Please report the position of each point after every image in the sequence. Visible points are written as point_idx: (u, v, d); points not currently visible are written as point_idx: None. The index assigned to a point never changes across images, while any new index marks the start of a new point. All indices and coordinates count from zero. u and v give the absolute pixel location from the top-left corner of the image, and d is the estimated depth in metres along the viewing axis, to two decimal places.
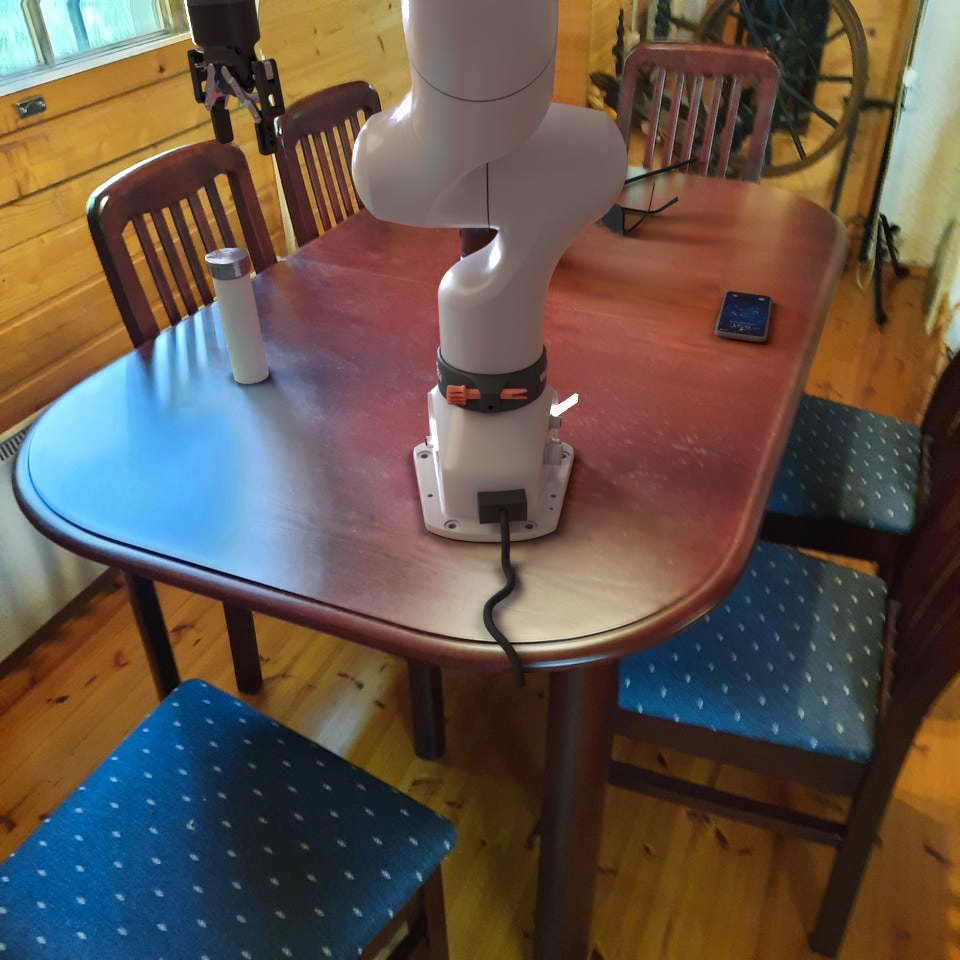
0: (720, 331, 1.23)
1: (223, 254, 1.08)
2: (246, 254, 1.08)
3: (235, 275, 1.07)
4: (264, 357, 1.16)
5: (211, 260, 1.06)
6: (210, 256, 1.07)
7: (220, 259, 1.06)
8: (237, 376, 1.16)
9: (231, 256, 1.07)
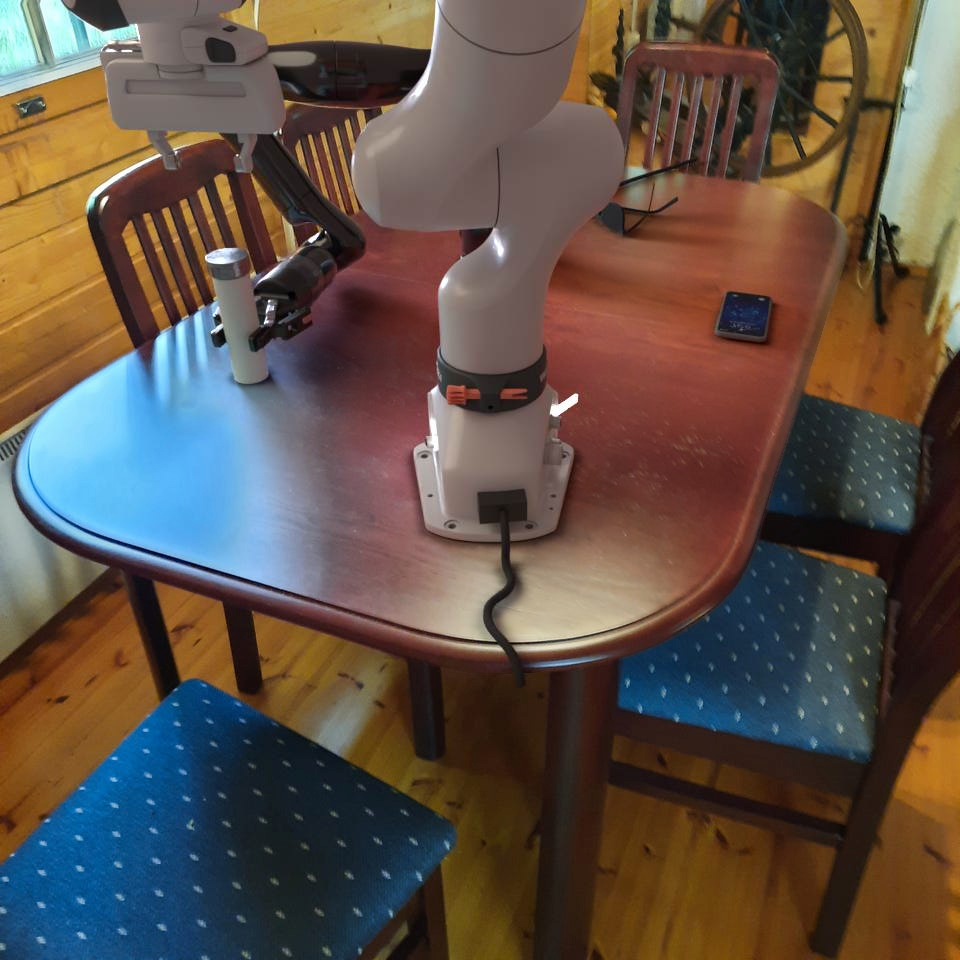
0: (720, 331, 1.23)
1: (223, 254, 1.08)
2: (246, 254, 1.07)
3: (235, 275, 1.07)
4: (264, 357, 1.16)
5: (211, 260, 1.06)
6: (210, 256, 1.07)
7: (220, 259, 1.06)
8: (237, 376, 1.16)
9: (231, 256, 1.07)
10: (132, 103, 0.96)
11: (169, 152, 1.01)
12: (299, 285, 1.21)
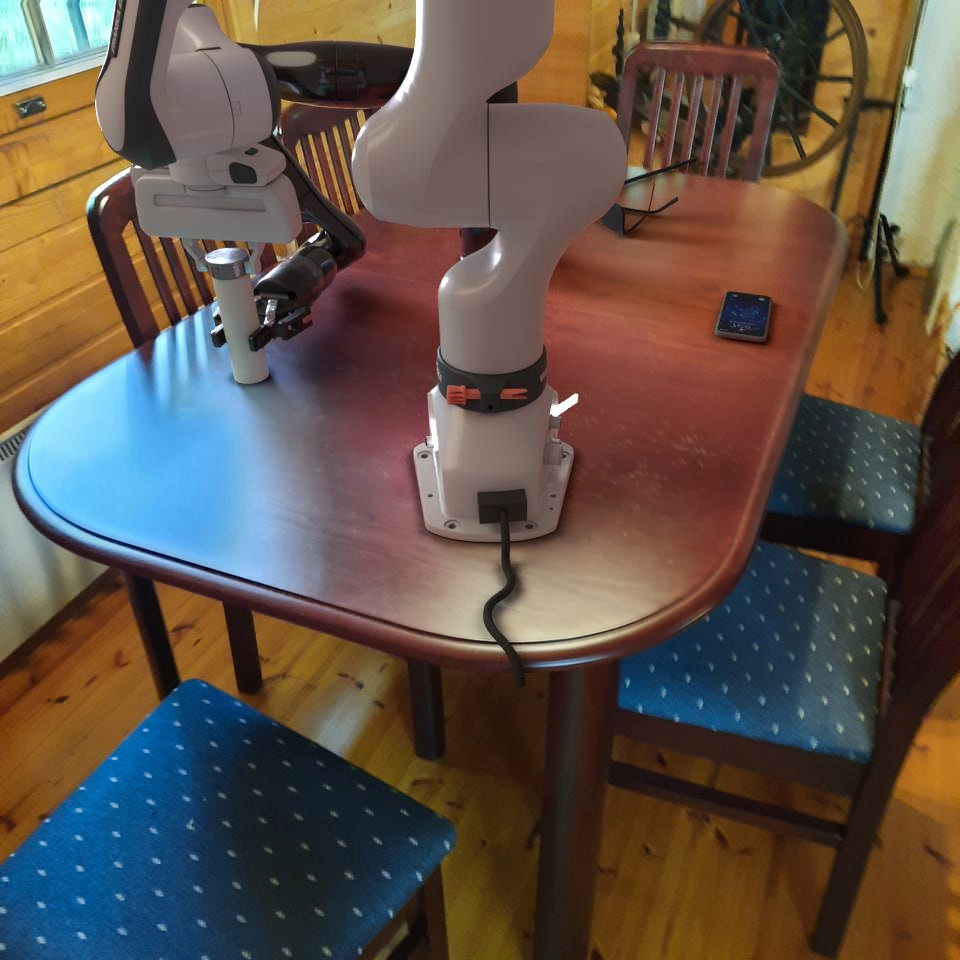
0: (720, 331, 1.23)
1: (223, 254, 1.08)
2: (246, 254, 1.08)
3: (235, 275, 1.07)
4: (264, 357, 1.16)
5: (211, 260, 1.06)
6: (210, 256, 1.07)
7: (220, 259, 1.06)
8: (237, 376, 1.16)
9: (231, 256, 1.07)
10: (160, 214, 1.04)
11: (201, 256, 1.08)
12: (299, 285, 1.21)
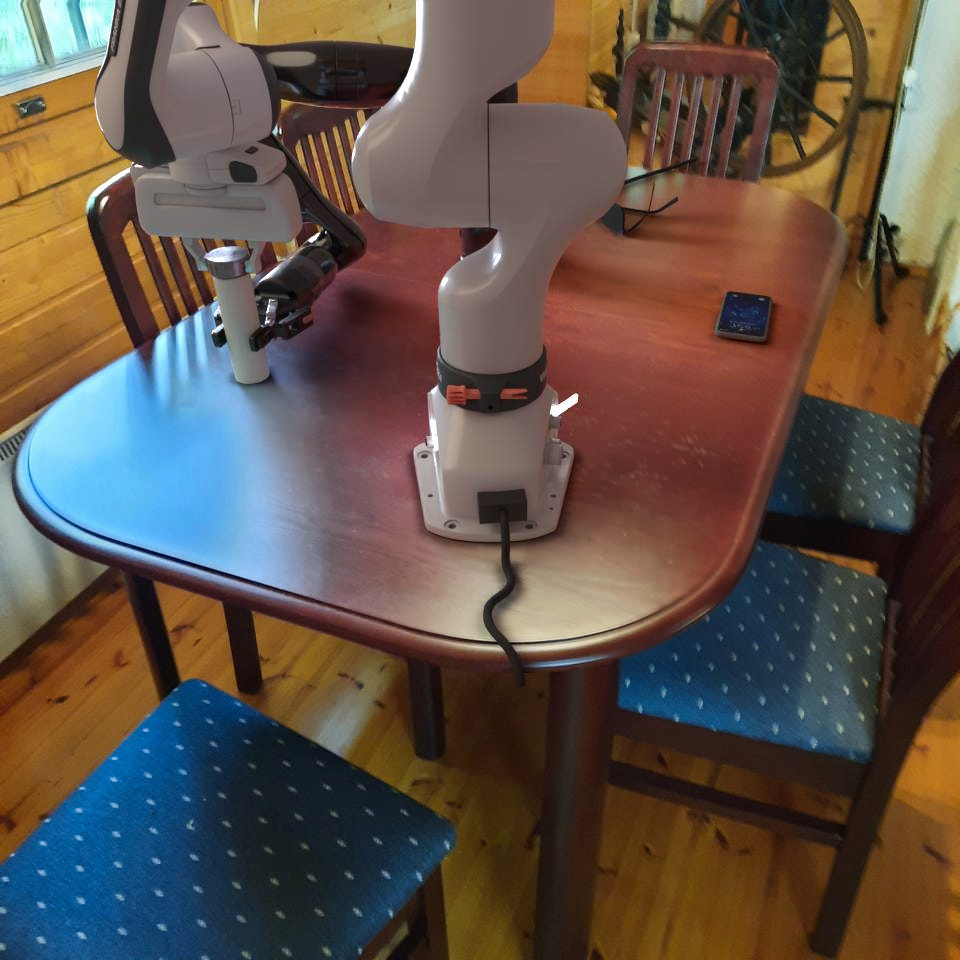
0: (720, 331, 1.23)
1: (221, 254, 1.07)
2: (240, 247, 1.09)
3: None
4: (265, 357, 1.16)
5: (225, 260, 1.06)
6: (215, 259, 1.06)
7: (230, 257, 1.06)
8: (237, 376, 1.16)
9: (232, 252, 1.08)
10: (160, 213, 1.04)
11: (202, 255, 1.08)
12: (299, 285, 1.21)
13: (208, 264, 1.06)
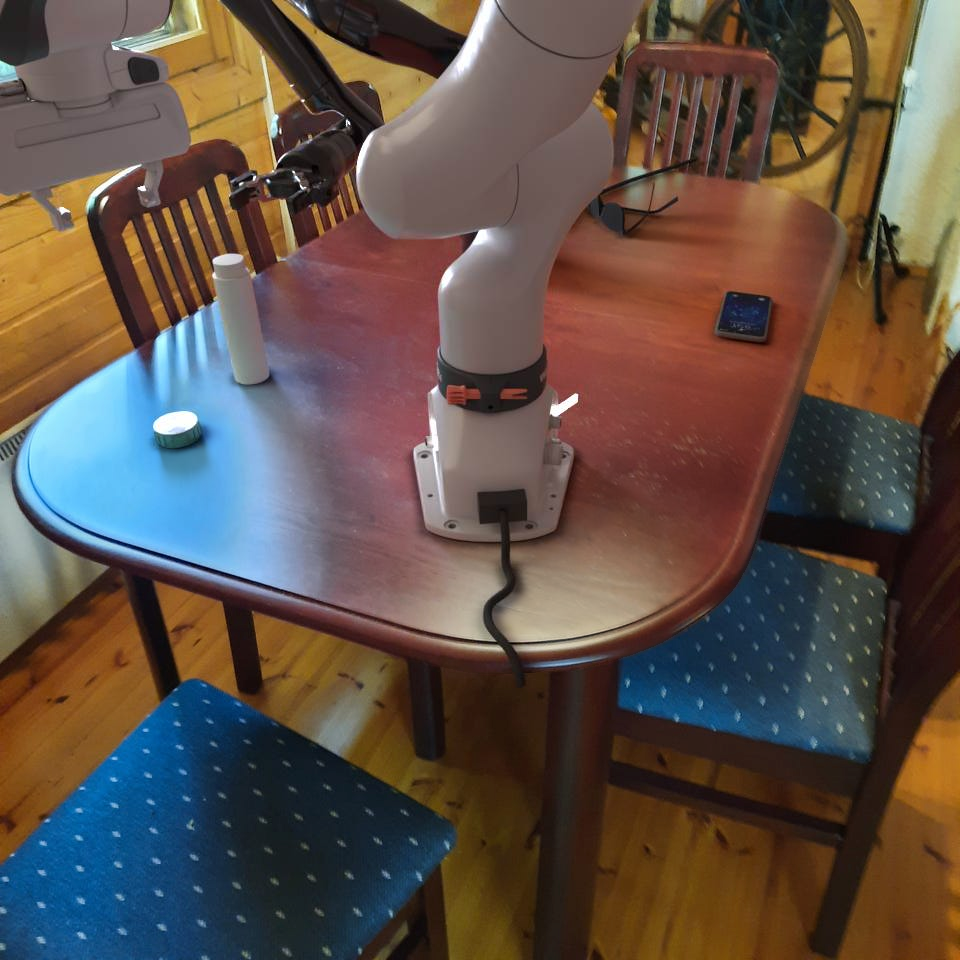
0: (720, 331, 1.23)
1: (177, 424, 1.04)
2: (156, 421, 1.05)
3: None
4: (265, 358, 1.16)
5: (193, 417, 1.05)
6: (191, 423, 1.04)
7: (184, 417, 1.05)
8: (237, 377, 1.16)
9: (172, 420, 1.05)
10: (26, 158, 0.79)
11: None
12: (322, 160, 1.22)
13: (191, 433, 1.04)
